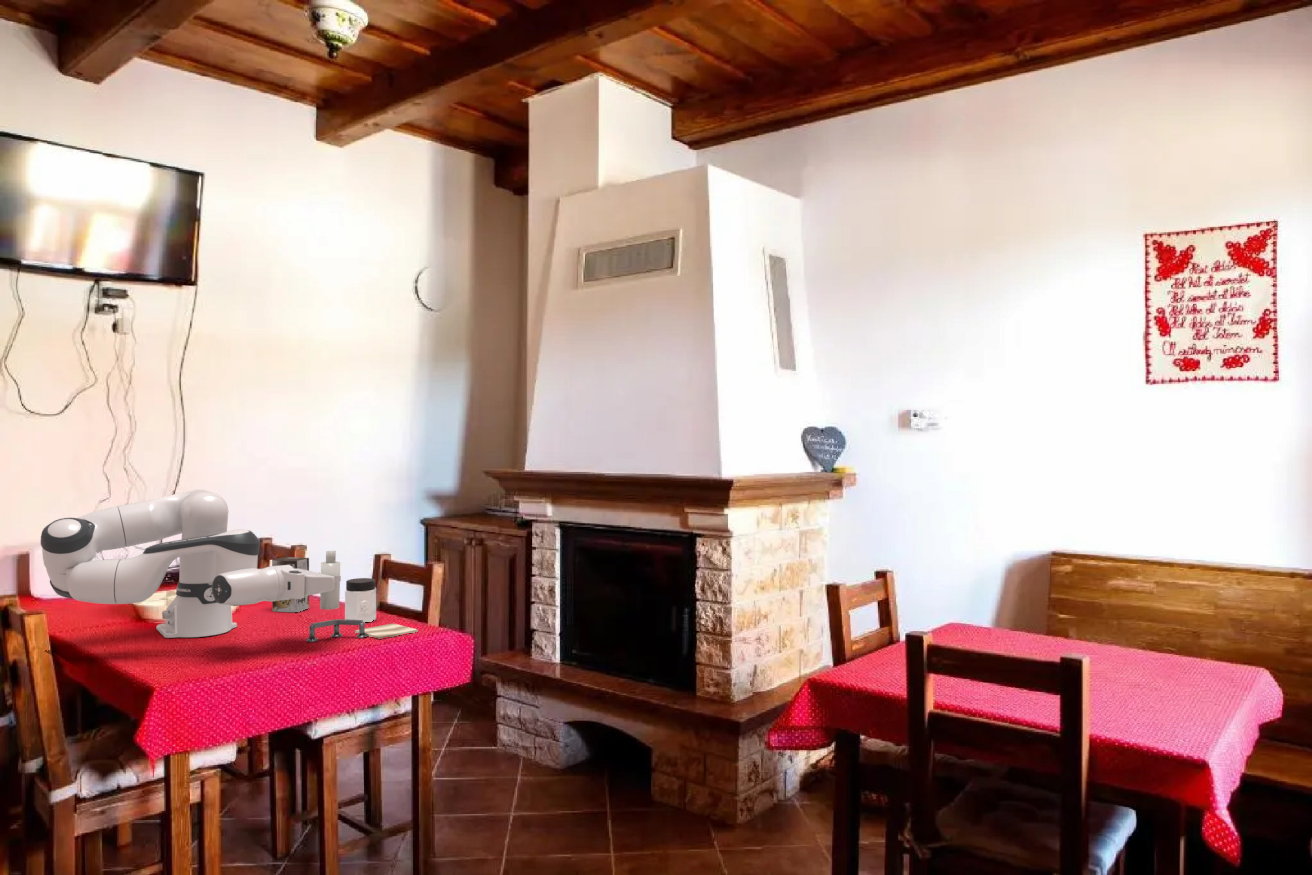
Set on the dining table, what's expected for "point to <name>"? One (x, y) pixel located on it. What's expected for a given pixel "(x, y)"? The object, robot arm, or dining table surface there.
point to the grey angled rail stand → (336, 628)
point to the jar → (360, 599)
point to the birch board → (387, 631)
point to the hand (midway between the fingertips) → (333, 576)
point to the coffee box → (291, 604)
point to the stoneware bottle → (332, 597)
